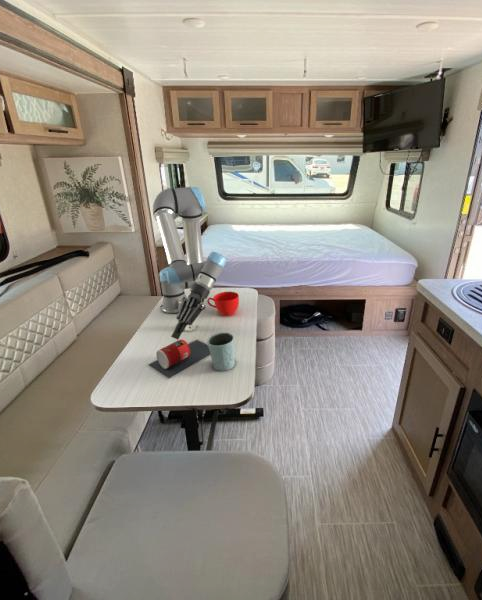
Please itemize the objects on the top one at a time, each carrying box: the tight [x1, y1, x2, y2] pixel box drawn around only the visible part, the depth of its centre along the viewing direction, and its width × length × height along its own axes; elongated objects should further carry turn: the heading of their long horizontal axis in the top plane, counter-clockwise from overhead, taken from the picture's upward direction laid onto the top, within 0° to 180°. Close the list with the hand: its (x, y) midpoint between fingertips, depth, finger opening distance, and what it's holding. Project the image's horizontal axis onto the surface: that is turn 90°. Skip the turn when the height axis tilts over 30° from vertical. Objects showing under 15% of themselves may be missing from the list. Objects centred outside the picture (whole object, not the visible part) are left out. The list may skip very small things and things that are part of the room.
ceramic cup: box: [206, 291, 240, 317], centre depth 171 cm, size 13×17×10 cm
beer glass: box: [178, 299, 197, 332], centre depth 156 cm, size 7×7×15 cm
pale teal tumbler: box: [206, 332, 236, 372], centre depth 126 cm, size 10×10×12 cm
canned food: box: [155, 339, 190, 369], centre depth 130 cm, size 8×8×11 cm
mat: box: [148, 339, 211, 379], centre depth 135 cm, size 24×14×1 cm, turn 140°
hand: (174, 338), depth 129 cm, fingers closed
